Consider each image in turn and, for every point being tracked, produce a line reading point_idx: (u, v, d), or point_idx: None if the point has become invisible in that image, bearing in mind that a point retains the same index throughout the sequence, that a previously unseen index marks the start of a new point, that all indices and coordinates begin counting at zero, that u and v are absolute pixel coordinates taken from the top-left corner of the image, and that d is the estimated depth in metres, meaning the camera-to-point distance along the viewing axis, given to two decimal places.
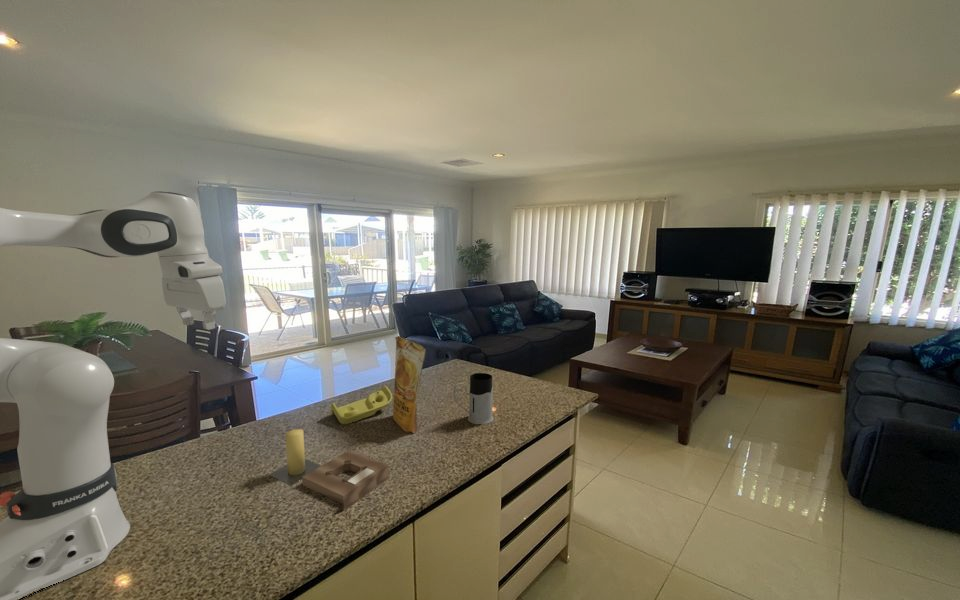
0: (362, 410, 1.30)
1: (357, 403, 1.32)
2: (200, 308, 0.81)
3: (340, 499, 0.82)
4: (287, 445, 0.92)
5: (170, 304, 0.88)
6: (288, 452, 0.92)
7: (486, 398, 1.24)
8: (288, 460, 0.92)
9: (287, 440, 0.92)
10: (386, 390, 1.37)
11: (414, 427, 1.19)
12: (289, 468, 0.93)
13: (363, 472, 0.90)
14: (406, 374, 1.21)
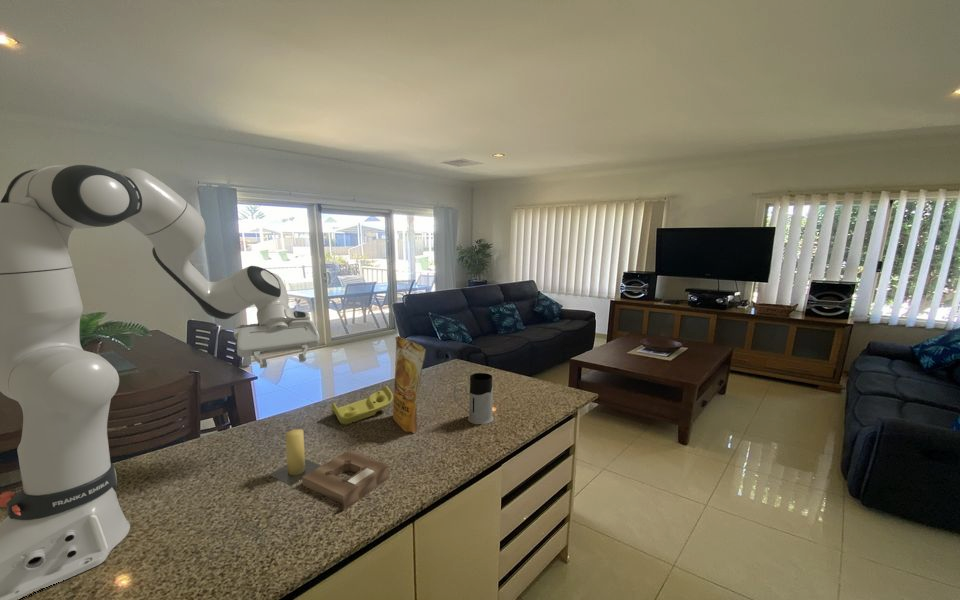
0: (363, 410, 1.29)
1: (358, 403, 1.32)
2: (307, 340, 1.06)
3: (340, 499, 0.82)
4: (287, 445, 0.92)
5: (250, 348, 0.98)
6: (288, 452, 0.92)
7: (486, 398, 1.24)
8: (288, 460, 0.92)
9: (287, 440, 0.92)
10: (387, 390, 1.37)
11: (414, 427, 1.19)
12: (289, 468, 0.93)
13: (363, 472, 0.90)
14: (406, 374, 1.21)
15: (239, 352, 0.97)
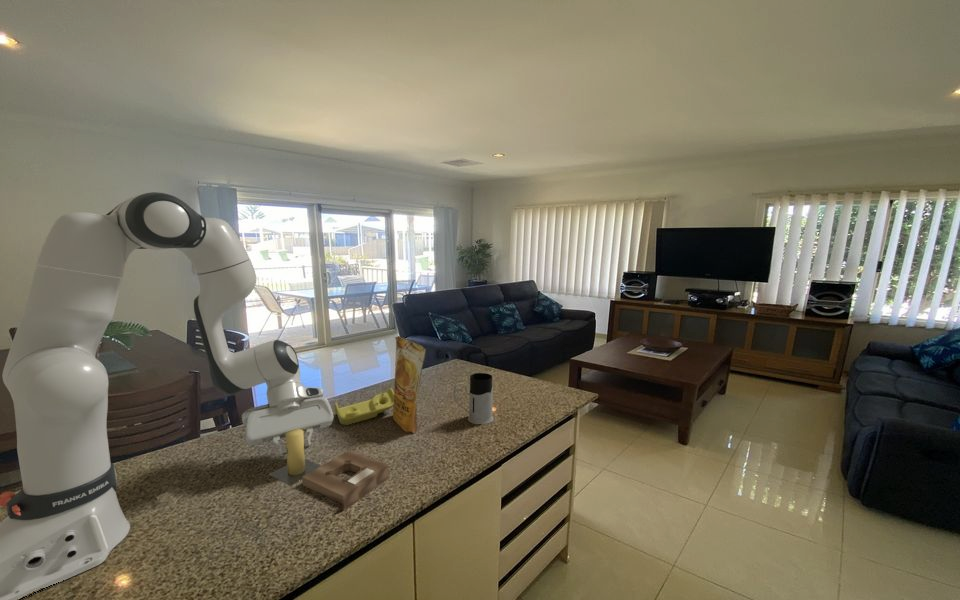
0: (364, 411, 1.29)
1: (361, 404, 1.31)
2: (320, 421, 0.99)
3: (340, 499, 0.82)
4: (287, 445, 0.92)
5: (260, 436, 0.90)
6: (288, 452, 0.92)
7: (486, 398, 1.24)
8: (288, 460, 0.92)
9: (287, 440, 0.92)
10: (391, 392, 1.35)
11: (414, 427, 1.19)
12: (289, 468, 0.93)
13: (363, 472, 0.90)
14: (406, 374, 1.21)
15: (249, 442, 0.90)
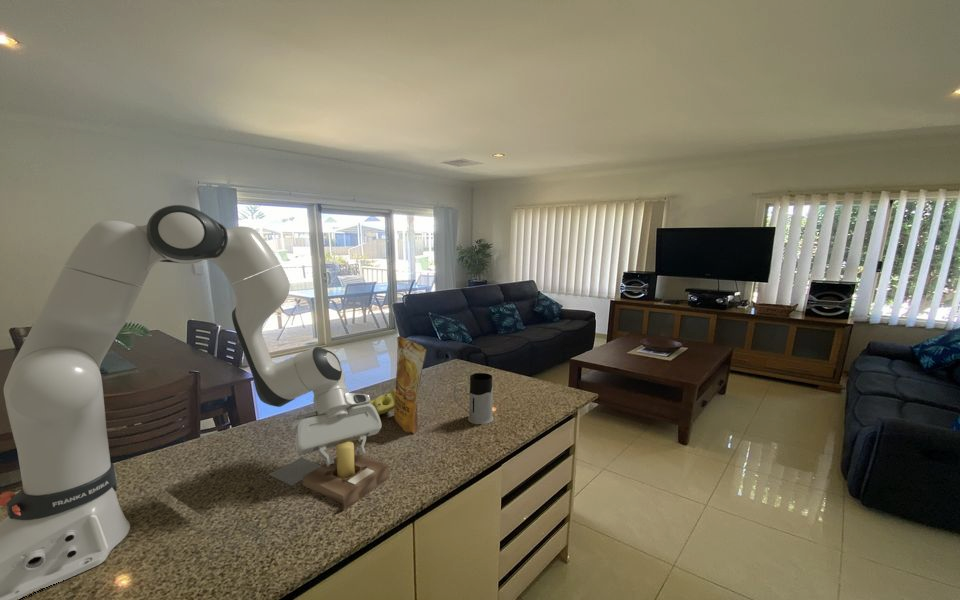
0: None
1: None
2: (369, 429, 0.96)
3: (340, 499, 0.82)
4: (338, 458, 0.89)
5: (311, 445, 0.87)
6: (339, 465, 0.89)
7: (486, 398, 1.24)
8: (339, 474, 0.90)
9: (338, 453, 0.89)
10: (394, 393, 1.34)
11: (415, 428, 1.18)
12: None
13: (363, 472, 0.90)
14: (407, 374, 1.21)
15: (300, 451, 0.87)
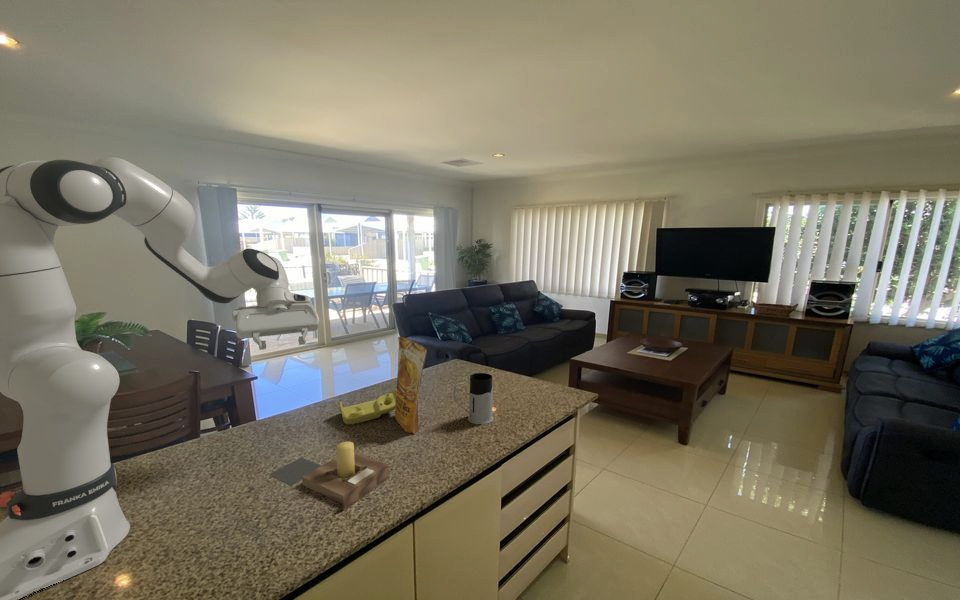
0: (368, 412, 1.28)
1: (365, 404, 1.31)
2: (307, 323, 1.05)
3: (340, 499, 0.82)
4: (338, 458, 0.89)
5: (249, 329, 0.97)
6: (339, 465, 0.89)
7: (486, 398, 1.24)
8: (339, 474, 0.90)
9: (338, 453, 0.89)
10: None
11: (415, 428, 1.18)
12: None
13: (363, 472, 0.90)
14: (408, 374, 1.21)
15: (239, 334, 0.96)
